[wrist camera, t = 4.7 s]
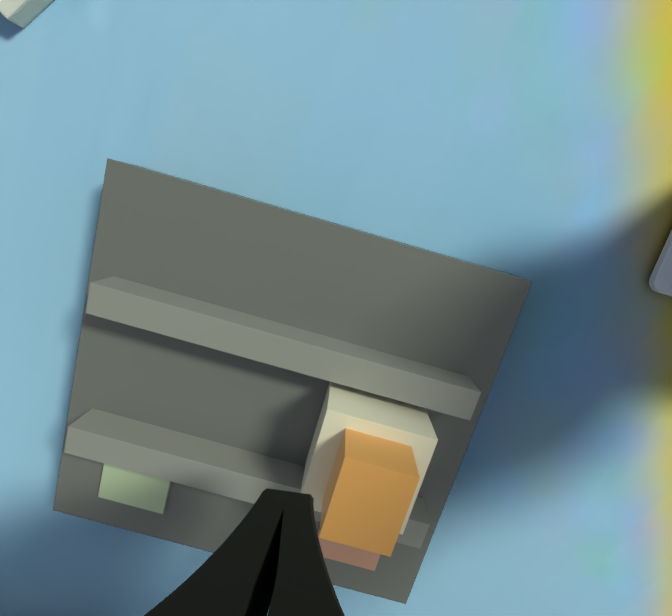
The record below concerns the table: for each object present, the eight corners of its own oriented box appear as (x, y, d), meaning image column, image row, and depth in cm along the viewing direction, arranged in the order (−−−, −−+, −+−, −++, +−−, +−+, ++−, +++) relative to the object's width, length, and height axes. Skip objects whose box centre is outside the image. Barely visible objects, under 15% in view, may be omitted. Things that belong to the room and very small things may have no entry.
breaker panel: (512, 274, 18) (551, 288, 15) (400, 568, 22) (410, 636, 18) (133, 164, 18) (80, 152, 14) (80, 483, 21) (26, 535, 18)
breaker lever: (423, 402, 17) (449, 471, 13) (394, 483, 18) (409, 575, 14) (331, 376, 17) (324, 435, 13) (306, 459, 18) (290, 543, 14)
